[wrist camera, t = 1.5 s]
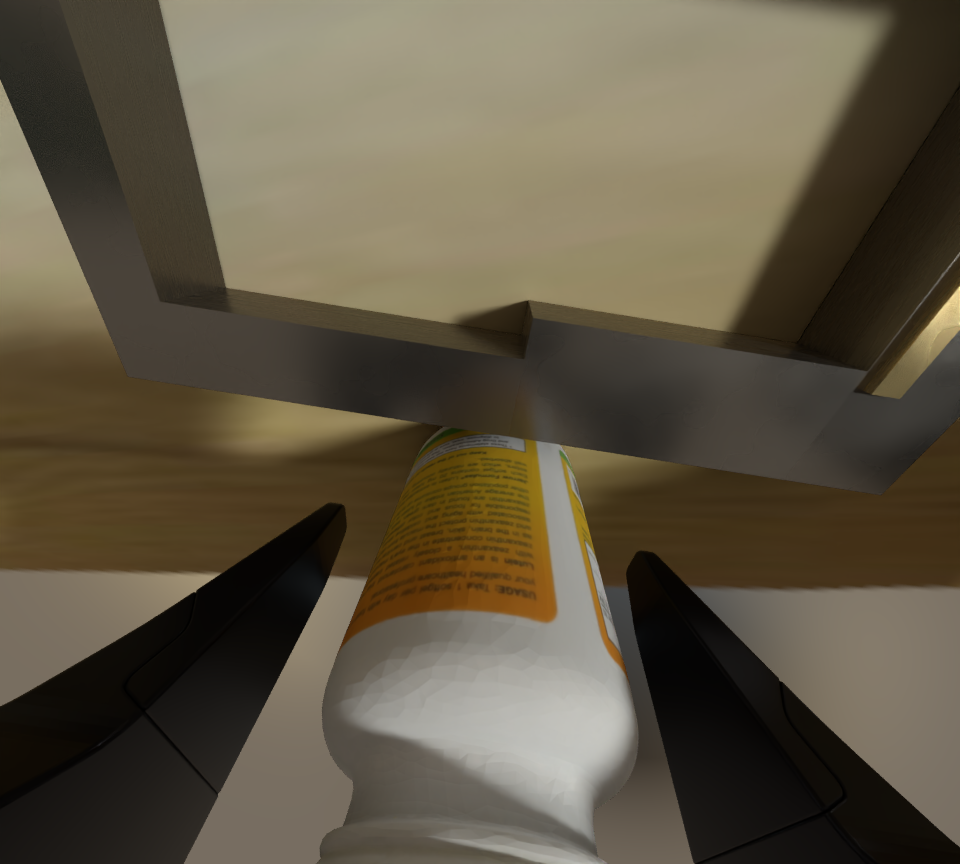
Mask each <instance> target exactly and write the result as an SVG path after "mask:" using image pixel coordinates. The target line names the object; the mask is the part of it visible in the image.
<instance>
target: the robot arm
mask: <svg viewBox="0 0 960 864" xmlns="http://www.w3.org/2000/svg"><path fill="white" fill-rule="evenodd" d="M346 529H347V522H346V511H345V506H344V505H342V504H338V503H327V504H326V505H324V506H323V507H321V508H320V509H318V510H317V511H315V512H314V513H312V514H311V515H309V516H308V517H306V518H305V519H303V520H302V521H300V522H299V523H297V524H296V525H294V526H293V527H291V528H289V529H288V530H286V531H285V532H283V533H282V534H280V535H279V536H277V537H276V538H274V539H273V540H271V541H270V542H268V543H267V544H265V545H264V546H262V547H261V548H259V549H258V550H256V551H255V552H253V553H252V554H250V555H249V556H247V557H246V558H244V559H243V560H241V561H240V562H238V563H237V564H235V565H234V566H232V567H231V568H229V569H228V570H226V571H225V572H223V573H222V574H220V575H219V576H217V577H216V578H214V579H213V580H211V581H210V582H208V583H207V584H205V585H204V586H202V587H201V588H199V589H198V590H197V591H196V593H195V592H193V593H191V594H190V595H189V596H187V597H185V598H184V599H182V600H181V601H180V602H178V603H176V604H175V605H173V606H172V607H170V608H169V609H167V610H165V611H164V612H162V613H161V614H159V615H158V616H156V617H154V618H153V619H151V620H150V621H148V622H147V623H145V624H143V625H142V626H140V627H138V628H137V629H135V630H133V631H132V632H130V633H128V634H127V635H125V636H123V637H122V638H120V639H118V640H116V641H115V642H113V643H111V644H110V645H108V646H106V647H105V648H103V649H101V650H99V651H98V652H96V653H94V654H92V655H91V656H89V657H88V658H86V659H84V660H82V661H81V662H79V663H77V664H75V665H74V666H72V667H70V668H68V669H66V670H65V671H63V672H61V673H60V674H58V675H56V676H54V677H53V678H51V679H49V680H48V681H46V682H44V683H42V684H41V685H39V686H37V687H35V688H34V689H32V690H30V691H29V692H27V693H25V694H23V695H21V696H20V697H18V698H16V699H14V700H12V701H10V702H8V703H6V704H4V705H2V706H0V864H184V862H185V860H186V858H187V856H188V854H189V852H190V850H191V848H192V846H193V844H194V842H195V840H196V839H197V837H198V834H199V833H200V831H201V829H202V827H203V825H204V823H205V821H206V819H207V817H208V815H209V813H210V811H211V809H212V807H213V805H214V803H215V801H216V799H217V797H218V793H219V792H220V791H221V789H222V787H223V785H224V783H225V781H226V779H227V777H228V775H229V773H230V772H231V769H232V767H233V766H234V764H235V762H236V760H237V758H238V756H239V754H240V752H241V750H242V748H243V746H244V744H245V742H246V740H247V738H248V736H249V734H250V732H251V730H252V728H253V726H254V725H255V723H256V721H257V719H258V717H259V715H260V713H261V711H262V709H263V707H264V705H265V703H266V701H267V699H268V697H269V695H270V693H271V691H272V689H273V687H274V685H275V683H276V682H277V679H278V678H279V676H280V674H281V672H282V670H283V668H284V666H285V664H286V662H287V660H288V658H289V656H290V654H291V652H292V650H293V648H294V646H295V644H296V642H297V640H298V638H299V637H300V634H301V633H302V631H303V629H304V627H305V625H306V623H307V621H308V618H309V617H310V615H311V613H312V611H313V609H314V607H315V605H316V603H317V601H318V599H319V597H320V595H321V593H322V591H323V589H324V587H325V585H326V582H327V580H328V578H329V575H330V572H331V570H332V567H333V565H334V562H335V559H336V557H337V554H338V551H339V549H340V546H341V544H342V541H343V538H344V536H345V533H346ZM626 578H627V584H628V591H629V598H630V605H631V611H632V617H633V625H634V630H635V635H636V639H637V644H638V647H639V651H640V655H641V659H642V663H643V667H644V671H645V675H646V678H647V683H648V687H649V690H650V694H651V698H652V702H653V706H654V710H655V714H656V718H657V722H658V725H659V730H660V733H661V737H662V741H663V745H664V749H665V753H666V757H667V761H668V765H669V769H670V772H671V777H672V780H673V784H674V788H675V792H676V796H677V800H678V804H679V808H680V811H681V816H682V819H683V824H684V827H685V831H686V835H687V839H688V843H689V847H690V851H691V855H692V859H693V862H694V863H695V864H960V847H959V846H958V845H956V844H955V843H954V842H953V841H952V840H950V839H949V838H948V837H947V836H946V835H945V834H944V833H942V832H941V831H940V830H939V829H938V828H937V827H936V826H934V824H932V823H931V822H930V821H929V820H928V819H927V818H926V817H925V816H924V815H923V814H921V813H920V812H919V811H918V810H917V809H916V808H915V807H914V806H913V805H912V804H911V803H910V802H908V801H907V800H906V799H905V798H904V797H903V796H902V795H901V794H900V793H899V792H898V791H896V790H895V789H894V788H893V787H892V786H891V785H890V784H889V783H888V782H887V781H885V780H884V779H883V778H882V777H881V776H880V775H879V774H878V773H877V772H876V771H875V770H873V769H872V768H871V767H870V766H869V765H868V764H867V763H866V762H865V761H864V760H863V759H862V758H860V757H859V756H858V755H857V754H856V753H855V752H854V751H853V750H852V749H851V748H850V747H849V746H848V745H847V744H846V743H844V742H843V741H842V740H841V739H840V738H839V737H838V736H837V735H836V734H835V733H834V732H833V731H832V730H831V729H829V728H828V727H827V726H826V725H825V724H824V723H823V722H822V721H821V720H820V719H819V718H818V717H817V716H816V715H815V714H814V713H813V712H812V711H811V710H810V709H809V708H808V707H807V706H806V705H805V704H804V703H803V702H802V701H801V700H800V699H799V698H798V697H797V696H796V695H795V694H794V693H793V692H792V691H791V690H790V689H789V688H788V687H787V686H786V685H785V684H784V683H783V682H781V681H779V678H778V677H777V676H776V675H775V674H774V673H773V672H772V671H771V670H770V669H769V668H768V667H767V666H766V665H765V664H764V663H763V662H762V661H761V660H760V659H759V658H758V657H757V656H756V655H755V654H754V653H753V652H752V651H751V650H750V649H749V648H748V647H747V646H746V645H745V644H744V643H743V642H742V641H741V640H740V639H739V638H738V637H737V636H736V635H735V634H734V633H733V632H732V631H731V630H730V629H729V628H728V627H727V626H726V625H725V624H724V622H722V621H721V619H720V618H719V617H718V616H717V615H716V614H714V613H713V611H712V610H711V609H710V608H709V607H708V606H707V605H706V604H704V602H703V601H702V600H701V599H700V598H699V597H698V596H697V595H696V594H695V593H694V592H693V591H692V590H691V589H690V588H689V587H688V586H687V585H686V584H685V583H684V582H683V581H682V580H681V579H680V578H679V577H678V576H677V575H676V574H675V573H674V572H673V571H672V570H671V569H670V568H669V567H668V566H667V565H666V564H665V563H664V562H663V561H662V560H661V559H660V558H659V557H658V556H657V555H656V554H655V553H653V552H648V551H642V550H640V551H638V552H636V554H635V556H634V558H633V559H632V561H631V563H630V565H629V566H628V568H627V572H626Z"/></svg>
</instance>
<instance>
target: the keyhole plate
mask: <svg viewBox="0 0 960 864" xmlns="http://www.w3.org/2000/svg"><path fill="white" fill-rule="evenodd" d="M0 80H1V82H2V85H3V87H4V89H5V92H6V94H7V96H8V99H9V101H10V103H11V106H12V108H13V110H14V113H15V115H16V117H17V120H18V122H19V124H20V127H21V129H22V131H23V133H24V136H25V138H26V140H27V143H28V145H29V147H30V150H31V152H32V154H33V157H34V159H35V161H36V164H37V166H38V168H39V171H40V173H41V175H42V178H43V180H44V182H45V185H46V187H47V189H48V192H49V194H50V196H51V199H52V201H53V203H54V206H55V208H56V210H57V213H58V215H59V217H60V220H61V222H62V224H63V227H64V229H65V231H66V234H67V236H68V238H69V241H70V243H71V245H72V248H73V250H74V252H75V255H76V257H77V259H78V262H79V264H80V266H81V269H82V271H83V273H84V276H85V278H86V280H87V283H88V285H89V287H90V290H91V292H92V294H93V297H94V299H95V301H96V304H97V306H98V308H99V311H100V313H101V315H102V318H103V320H104V322H105V325H106V327H107V329H108V332H109V334H110V336H111V339H112V341H113V343H114V346H115V348H116V350H117V353H118V355H119V357H120V360H121V362H122V364H123V367H124V369H125V371H126V374H127V376H128V377H133V378H140V379H146V380H152V381H159V382H165V383H171V384H178V385H184V386H190V387H197V388H203V389H209V390H216V391H222V392H228V393H235V394H241V395H248V396H254V397H260V398H267V399H273V400H279V401H286V402H292V403H298V404H305V405H311V406H317V407H324V408H330V409H336V410H343V411H349V412H356V413H362V414H368V415H375V416H381V417H387V418H394V419H400V420H406V421H413V422H419V423H425V424H432V425H438V426H444V427H451V428H457V429H464V430H470V431H476V432H483V433H489V434H495V435H502V436H508V437H514V438H521V439H527V440H533V441H540V442H546V443H552V444H559V445H565V446H572V447H578V448H584V449H591V450H597V451H603V452H610V453H616V454H622V455H629V456H635V457H641V458H648V459H654V460H661V461H667V462H673V463H680V464H686V465H692V466H699V467H705V468H711V469H718V470H724V471H730V472H737V473H743V474H749V475H756V476H762V477H769V478H775V479H781V480H788V481H794V482H800V483H807V484H813V485H819V486H826V487H832V488H838V489H845V490H851V491H857V492H864V493H870V494H877V495H882V494H883V493H884V492H885V491H886V490H887V489H888V488H889V487H890V486H891V485H892V484H893V483H894V482H895V481H896V480H897V479H898V478H899V477H900V476H901V475H902V474H903V473H904V472H905V471H906V470H907V469H908V468H909V467H910V466H911V465H912V464H913V463H914V462H915V461H916V460H917V459H918V458H919V457H920V456H921V455H922V454H923V453H924V452H925V451H926V450H927V449H928V448H929V447H930V446H931V445H932V444H933V443H934V442H935V441H936V440H937V439H938V438H939V437H940V436H941V435H942V434H943V433H944V432H945V431H946V430H947V429H948V428H949V427H950V426H951V425H952V424H953V423H954V422H955V421H956V420H957V419H958V418H959V417H960V87H959V89H958V90H957V92H956V94H955V95H954V97H953V98H952V100H951V102H950V103H949V105H948V106H947V108H946V109H945V111H944V113H943V114H942V116H941V117H940V119H939V120H938V122H937V124H936V125H935V127H934V128H933V130H932V132H931V133H930V135H929V136H928V138H927V139H926V141H925V143H924V144H923V146H922V147H921V149H920V151H919V152H918V154H917V155H916V157H915V158H914V160H913V162H912V163H911V165H910V166H909V168H908V169H907V171H906V173H905V174H904V176H903V177H902V179H901V181H900V182H899V184H898V185H897V187H896V188H895V190H894V192H893V193H892V195H891V196H890V198H889V199H888V201H887V203H886V204H885V206H884V207H883V209H882V211H881V212H880V214H879V215H878V217H877V218H876V220H875V222H874V223H873V225H872V226H871V228H870V230H869V231H868V233H867V234H866V236H865V237H864V239H863V241H862V242H861V244H860V245H859V247H858V248H857V250H856V252H855V253H854V255H853V256H852V258H851V260H850V261H849V263H848V264H847V266H846V267H845V269H844V271H843V272H842V274H841V275H840V277H839V279H838V280H837V282H836V283H835V285H834V286H833V288H832V290H831V291H830V293H829V294H828V296H827V297H826V299H825V301H824V302H823V304H822V305H821V307H820V309H819V310H818V312H817V313H816V315H815V316H814V318H813V320H812V321H811V323H810V324H809V326H808V327H807V329H806V331H805V332H804V334H803V335H802V337H801V339H800V340H799V342H798V343H792V342H785V341H779V340H773V339H767V338H760V337H754V336H748V335H742V334H736V333H729V332H723V331H717V330H711V329H704V328H698V327H692V326H686V325H680V324H673V323H667V322H661V321H655V320H648V319H642V318H636V317H630V316H624V315H617V314H611V313H605V312H599V311H592V310H586V309H580V308H574V307H568V306H561V305H555V304H549V303H543V302H536V301H530V300H528V305H527V310H526V315H525V320H524V325H523V330H522V335H517V334H511V333H504V332H498V331H492V330H486V329H479V328H473V327H467V326H461V325H454V324H448V323H442V322H436V321H429V320H423V319H417V318H411V317H404V316H398V315H392V314H386V313H379V312H373V311H367V310H361V309H354V308H348V307H342V306H336V305H329V304H323V303H317V302H311V301H304V300H298V299H292V298H285V297H279V296H273V295H267V294H260V293H254V292H248V291H242V290H235V289H229V288H226V287H225V283H224V278H223V274H222V270H221V265H220V261H219V257H218V253H217V248H216V244H215V240H214V236H213V231H212V227H211V223H210V219H209V214H208V210H207V206H206V202H205V197H204V193H203V189H202V184H201V180H200V176H199V172H198V167H197V163H196V159H195V155H194V150H193V146H192V142H191V138H190V133H189V129H188V125H187V121H186V116H185V112H184V108H183V103H182V99H181V95H180V91H179V86H178V82H177V78H176V74H175V69H174V65H173V61H172V57H171V52H170V48H169V44H168V40H167V35H166V31H165V27H164V22H163V18H162V14H161V10H160V5H159V1H158V0H0Z"/></svg>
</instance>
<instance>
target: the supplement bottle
mask: <svg viewBox="0 0 960 864" xmlns="http://www.w3.org/2000/svg"><path fill="white" fill-rule="evenodd" d="M322 718H323V719H322V722H323V732H324V737H325V741H326V744H327V746H328V749H329V752H330V755H331V756H332V758H333V760H334V761H335V763H336V764H337V766H338V767H339V768H340V769H341V770H342V771H343V773H344V774H345V775H347V776H348V777H349V778H350V779H351V780H352V781H353V794H352V800H351V803H350V806H349V809H348V813H347V816H346V819H345V822H344V825H343V826H342V827H340V828H337V829H334V830H332V831H331V832H329V833H328V834H327V835H326V836H325V837H324V838H323V840H322V843H321V845H320V857H321V859H320V860H319V861H318V862H317V864H608V863H606V862H605V861H603V860H602V859H600V858H598V855H597V849H596V843H595V836H594V829H593V820H594V811H595V809H597V808H599V807H600V806H602V805H603V804H605V803H606V802H608V801H609V800H611V799H612V798H613V797H614V796H615V795H616V794H617V793H618V792H619V791H620V790H621V789H622V787H623V786H624V785H625V783H626V782H627V780H628V778H629V777H630V775H631V773H632V770H633V768H634V765H635V761H636V757H637V752H638V738H639V736H638V725H637V717H636V713H635V708H634V704H633V699H632V694H631V689H630V684H629V680H628V676H627V672H626V668H625V665H624V662H623V658H622V654H621V650H620V647H619V643H618V639H617V635H616V631H615V628H614V624H613V620H612V616H611V613H610V609H609V605H608V602H607V598H606V594H605V590H604V586H603V582H602V578H601V575H600V571H599V567H598V563H597V560H596V556H595V552H594V548H593V544H592V540H591V536H590V532H589V528H588V525H587V521H586V517H585V513H584V509H583V505H582V501H581V498H580V494H579V490H578V486H577V483H576V479H575V475H574V472H573V470H572V467H571V464H570V462H569V459H568V457H567V455H566V453H565V452H564V450H563V449H562V447H561V446H560V445H559V444H552V443H546V442H540V441H533V440H527V439H521V438H514V437H508V436H502V435H495V434H489V433H483V432H476V431H470V430H464V429H457V428H451V427H443V428H441V429H440V430H438V431H437V432H436V433H435V434H434V435H432V436H431V437H430V438H429V439H428V440H427V442H426V443H425V444H424V445H423V447H422V448H421V450H420V452H419V454H418V456H417V458H416V460H415V462H414V464H413V466H412V469H411V471H410V474H409V476H408V478H407V481H406V484H405V486H404V488H403V492H402V494H401V496H400V499H399V502H398V504H397V507H396V509H395V512H394V514H393V516H392V519H391V522H390V524H389V527H388V529H387V532H386V534H385V537H384V539H383V542H382V544H381V547H380V549H379V552H378V554H377V557H376V559H375V562H374V564H373V567H372V569H371V572H370V574H369V577H368V579H367V582H366V584H365V587H364V590H363V592H362V594H361V597H360V599H359V602H358V604H357V607H356V609H355V612H354V614H353V616H352V619H351V621H350V624H349V626H348V629H347V631H346V634H345V636H344V639H343V642H342V644H341V646H340V649H339V651H338V654H337V657H336V659H335V663H334V665H333V668H332V671H331V674H330V676H329V680H328V682H327V686H326V689H325V694H324V699H323V707H322Z"/></svg>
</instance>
